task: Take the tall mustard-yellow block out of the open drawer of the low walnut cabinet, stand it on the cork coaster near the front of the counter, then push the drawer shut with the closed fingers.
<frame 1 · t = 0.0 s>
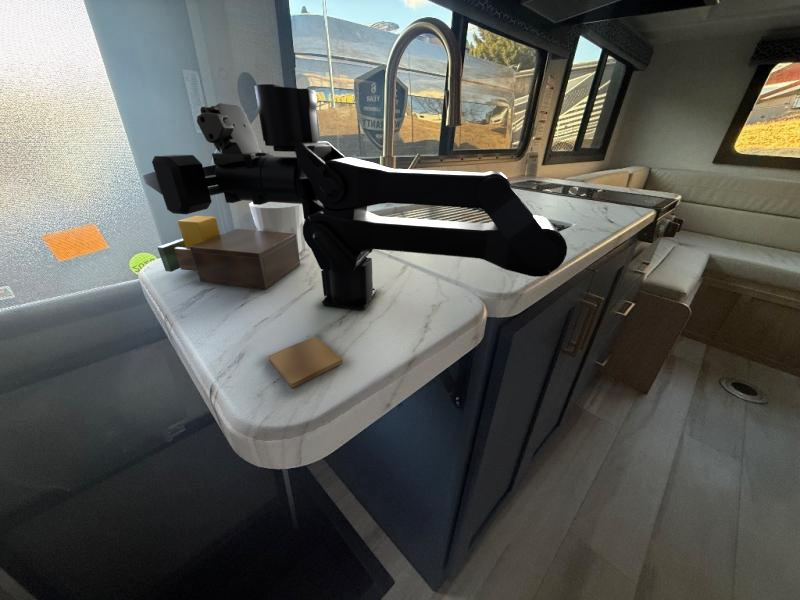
hand: (174, 175, 44), 17 cm above the table, tool horizontal, fingers open, 9 cm apart
cabinet: (253, 273, 55), on the table
coaster: (305, 361, 34), on the table
cup: (284, 251, 66), on the table
drawer: (208, 252, 55), point 3 cm above the table, slide at 6.0 cm, touching block
block: (208, 257, 56), point 2 cm above the table, touching drawer
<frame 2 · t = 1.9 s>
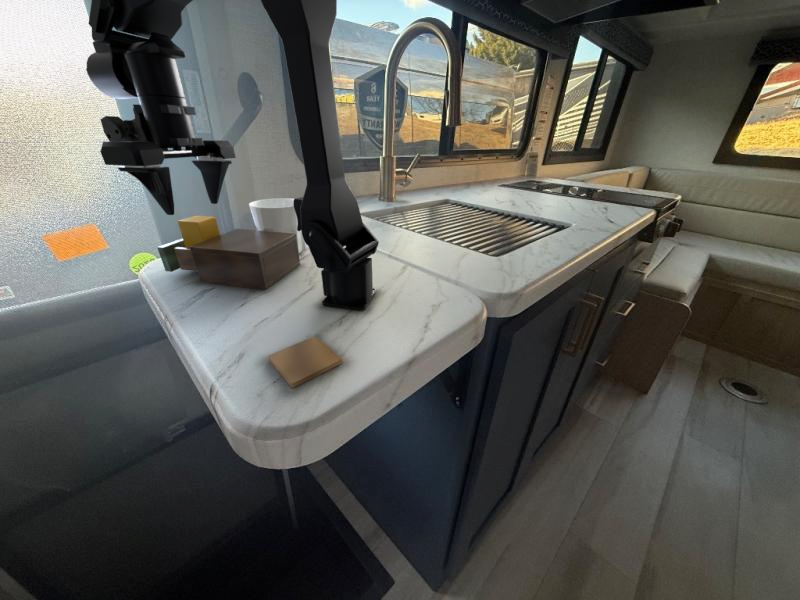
hand: (194, 208, 52), 11 cm above the table, tool pointing down, fingers open, 9 cm apart
nothing on the table moved.
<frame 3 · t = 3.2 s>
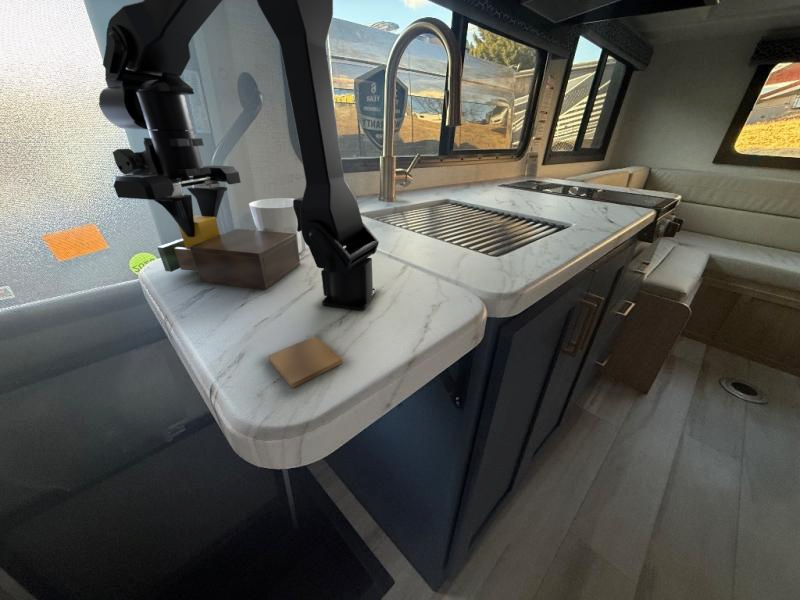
hand: (201, 233, 54), 7 cm above the table, tool pointing down, fingers closed on block, 4 cm apart
block: (208, 257, 56), point 2 cm above the table, touching drawer, gripper
everything else where it was.
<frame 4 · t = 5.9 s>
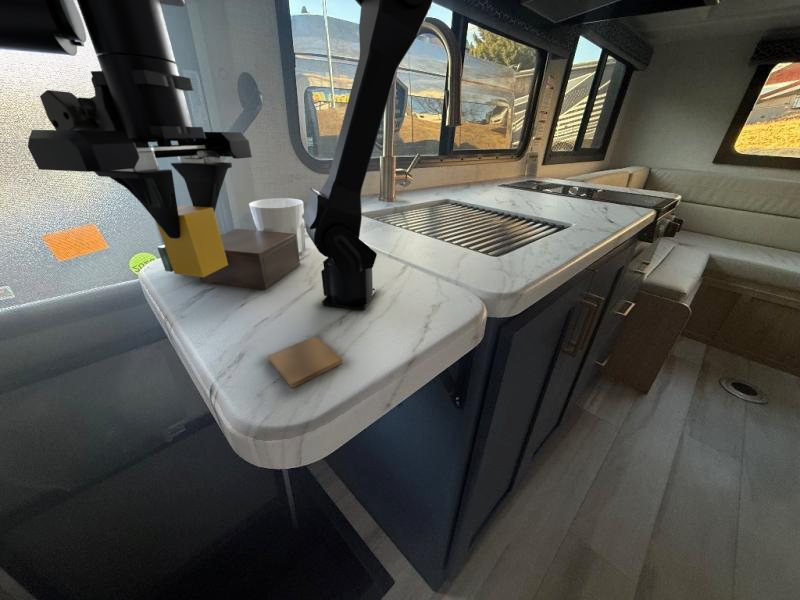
hand: (191, 232, 35), 12 cm above the table, tool pointing down, fingers closed on block, 4 cm apart
drawer: (208, 252, 55), point 3 cm above the table, slide at 6.0 cm
block: (202, 269, 37), point 7 cm above the table, touching gripper
everything else where it was.
when the fingers open (5 cm above the table, at t = 9.0 s): block stays where it is, resting on coaster.
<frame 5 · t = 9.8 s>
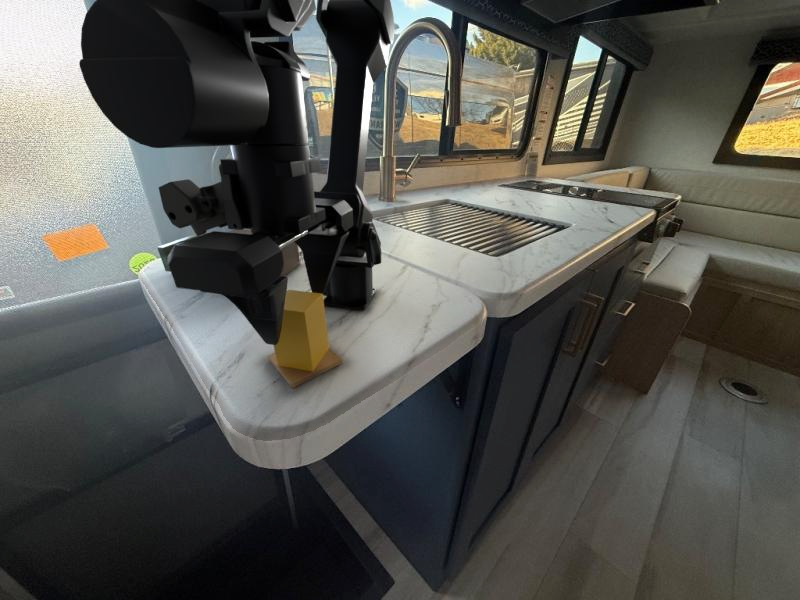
hand: (298, 317, 31), 6 cm above the table, tool pointing down, fingers open, 9 cm apart
block: (304, 356, 34), point 1 cm above the table, touching coaster
everything else where it was.
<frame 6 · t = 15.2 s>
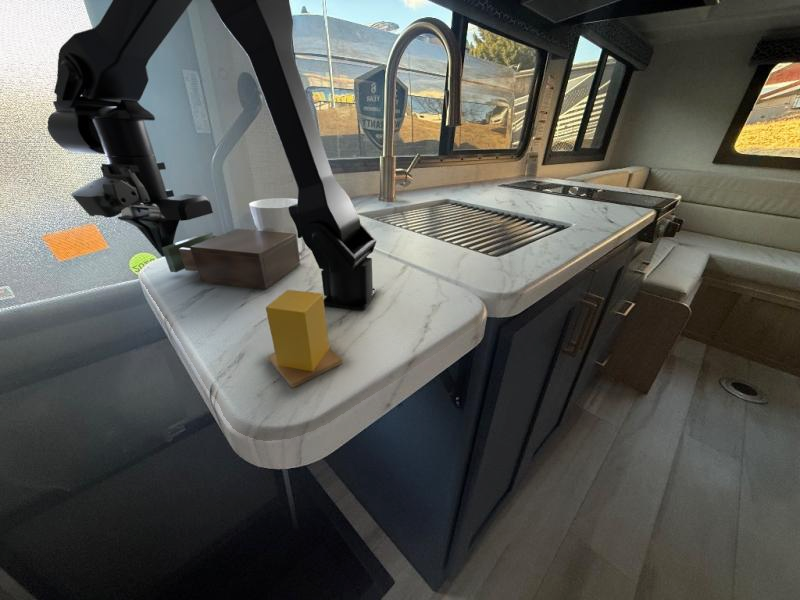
hand: (166, 255, 53), 3 cm above the table, tool pointing down, fingers closed
drawer: (213, 253, 55), point 3 cm above the table, slide at 5.0 cm, touching gripper
everything else where it was.
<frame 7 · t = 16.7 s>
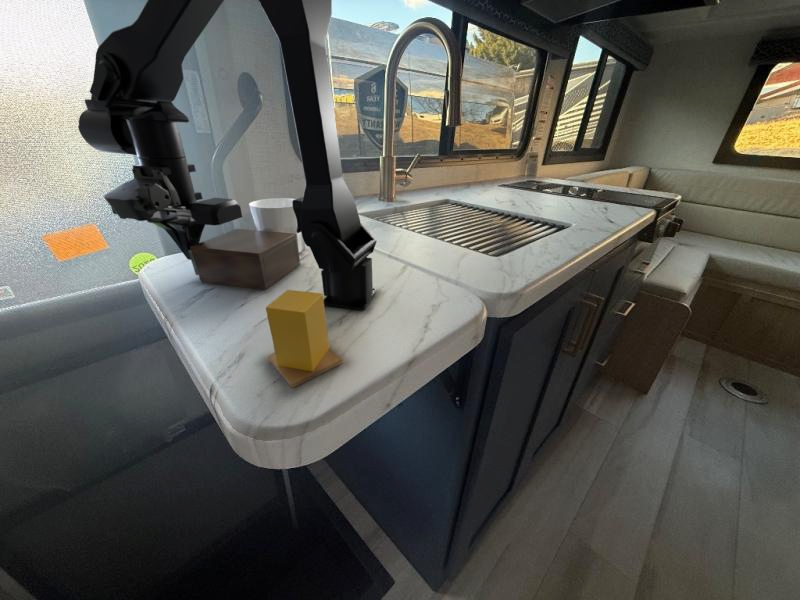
hand: (191, 259, 52), 3 cm above the table, tool pointing down, fingers closed
drawer: (238, 255, 54), point 3 cm above the table, slide at 0.0 cm, touching gripper
everything else where it was.
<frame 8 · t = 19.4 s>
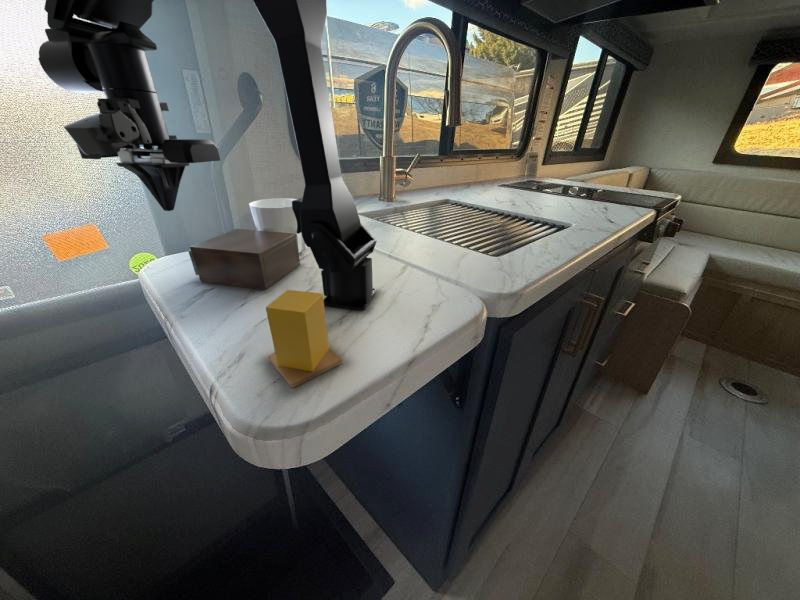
hand: (169, 210, 49), 11 cm above the table, tool pointing down, fingers closed
drawer: (238, 255, 54), point 3 cm above the table, slide at 0.0 cm
everything else where it was.
at the end: block 0.1 cm off-centre on the coaster, point 0.6 cm above the coaster's base; block tilted 0°; drawer slide at 0.0 cm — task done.
